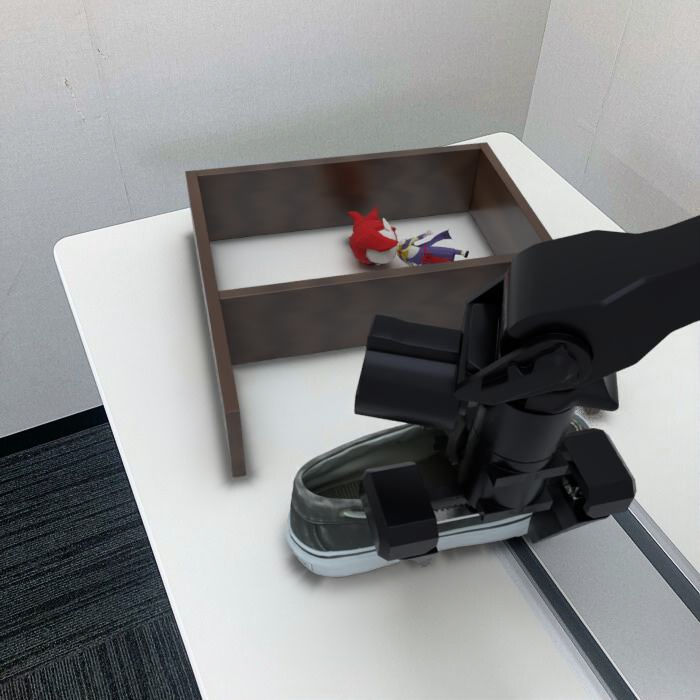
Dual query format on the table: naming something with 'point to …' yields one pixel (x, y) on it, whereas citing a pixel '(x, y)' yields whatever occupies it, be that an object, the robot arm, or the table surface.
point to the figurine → (395, 243)
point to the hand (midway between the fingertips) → (477, 549)
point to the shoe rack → (353, 289)
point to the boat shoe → (347, 510)
